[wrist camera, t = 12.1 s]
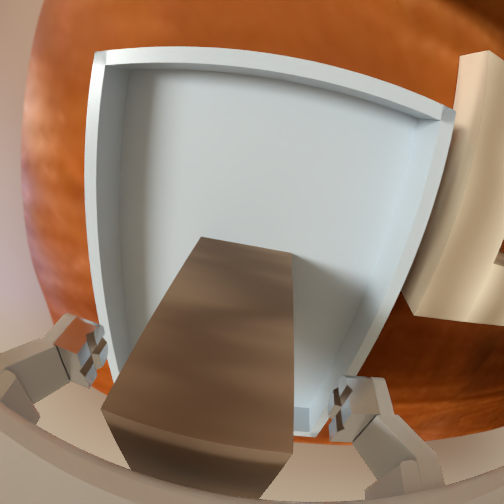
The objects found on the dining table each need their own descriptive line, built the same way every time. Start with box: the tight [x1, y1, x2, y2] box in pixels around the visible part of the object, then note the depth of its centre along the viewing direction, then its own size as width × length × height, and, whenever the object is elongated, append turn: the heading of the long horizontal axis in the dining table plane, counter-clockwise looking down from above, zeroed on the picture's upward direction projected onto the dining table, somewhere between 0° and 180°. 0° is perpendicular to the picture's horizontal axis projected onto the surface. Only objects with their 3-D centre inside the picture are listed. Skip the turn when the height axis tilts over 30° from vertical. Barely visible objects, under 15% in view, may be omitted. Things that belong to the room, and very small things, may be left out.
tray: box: [85, 47, 456, 437], centre depth 13 cm, size 13×19×3 cm
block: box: [101, 237, 294, 499], centre depth 10 cm, size 4×4×9 cm
